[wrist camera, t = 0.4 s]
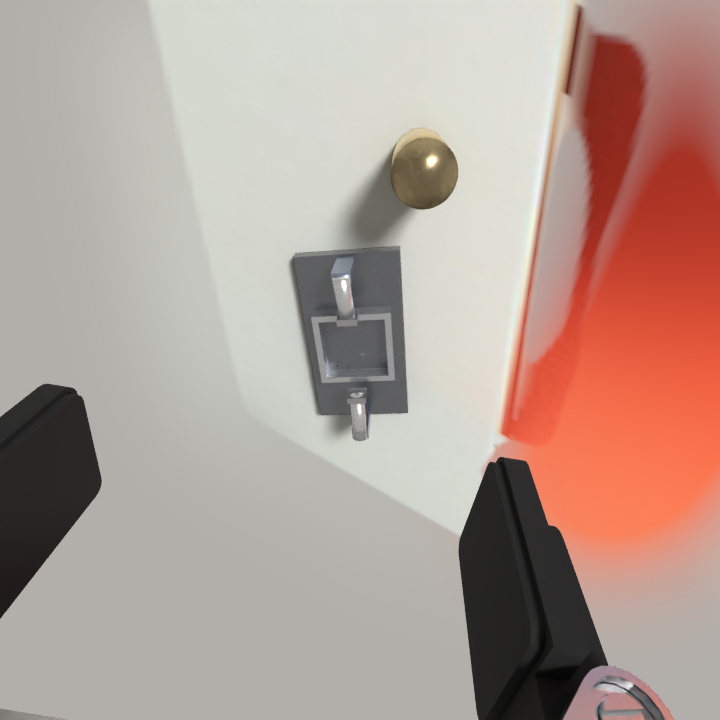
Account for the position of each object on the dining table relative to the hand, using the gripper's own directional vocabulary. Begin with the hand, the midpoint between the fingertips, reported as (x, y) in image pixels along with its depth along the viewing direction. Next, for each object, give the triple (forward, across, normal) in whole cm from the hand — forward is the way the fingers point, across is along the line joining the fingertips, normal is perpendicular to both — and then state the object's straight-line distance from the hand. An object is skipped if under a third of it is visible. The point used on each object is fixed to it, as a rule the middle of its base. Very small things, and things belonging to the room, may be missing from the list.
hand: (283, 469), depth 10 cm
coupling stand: (+33, 0, +14) cm, 35 cm away
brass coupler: (+32, -3, -4) cm, 33 cm away
